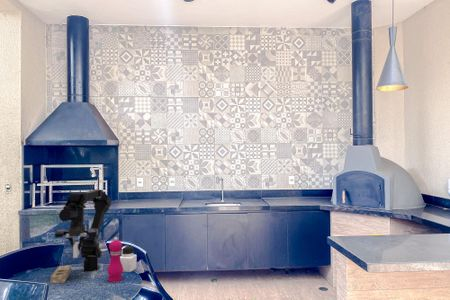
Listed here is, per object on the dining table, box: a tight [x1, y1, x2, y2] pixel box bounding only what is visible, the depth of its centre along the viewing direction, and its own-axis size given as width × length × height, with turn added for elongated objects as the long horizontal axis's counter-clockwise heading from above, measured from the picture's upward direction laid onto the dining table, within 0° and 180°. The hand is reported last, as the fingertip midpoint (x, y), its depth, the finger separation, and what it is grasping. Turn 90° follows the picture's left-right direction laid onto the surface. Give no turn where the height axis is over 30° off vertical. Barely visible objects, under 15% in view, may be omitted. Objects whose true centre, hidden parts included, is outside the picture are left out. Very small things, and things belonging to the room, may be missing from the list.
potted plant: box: [120, 245, 138, 273], centre depth 179 cm, size 7×7×12 cm
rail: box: [50, 265, 72, 284], centre depth 167 cm, size 6×17×3 cm, turn 15°
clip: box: [72, 241, 81, 259], centre depth 167 cm, size 2×7×6 cm, turn 14°
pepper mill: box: [106, 236, 123, 283], centre depth 163 cm, size 7×7×20 cm
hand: (76, 250), depth 166 cm, fingers closed on clip, 2 cm apart
